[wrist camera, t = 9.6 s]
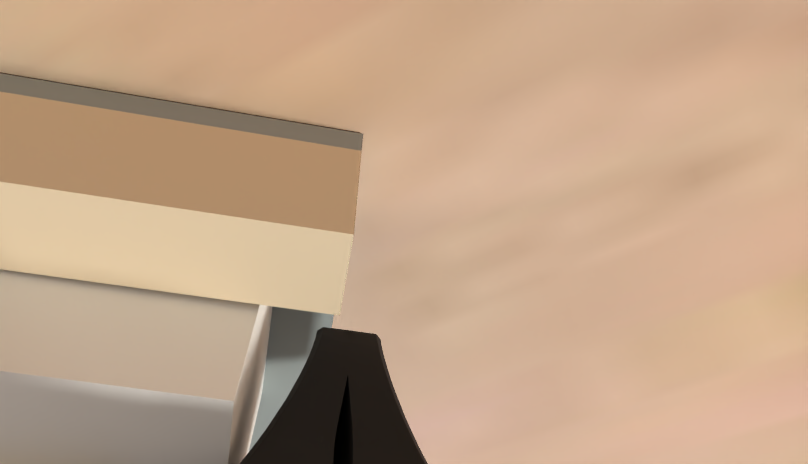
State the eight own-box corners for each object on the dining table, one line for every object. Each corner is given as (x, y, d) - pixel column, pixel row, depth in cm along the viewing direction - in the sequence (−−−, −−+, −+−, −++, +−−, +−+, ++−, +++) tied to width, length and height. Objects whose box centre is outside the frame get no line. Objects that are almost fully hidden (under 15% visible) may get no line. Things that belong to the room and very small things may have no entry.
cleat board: (287, 585, 22) (268, 719, 19) (-40, 555, 21) (-120, 692, 18) (363, 133, 14) (354, 234, 10) (-175, 44, 12) (-373, 125, 9)
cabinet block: (262, 393, 16) (207, 635, 11) (44, 364, 16) (-108, 606, 11) (283, 217, 14) (225, 434, 9) (23, 174, 13) (-188, 383, 8)
